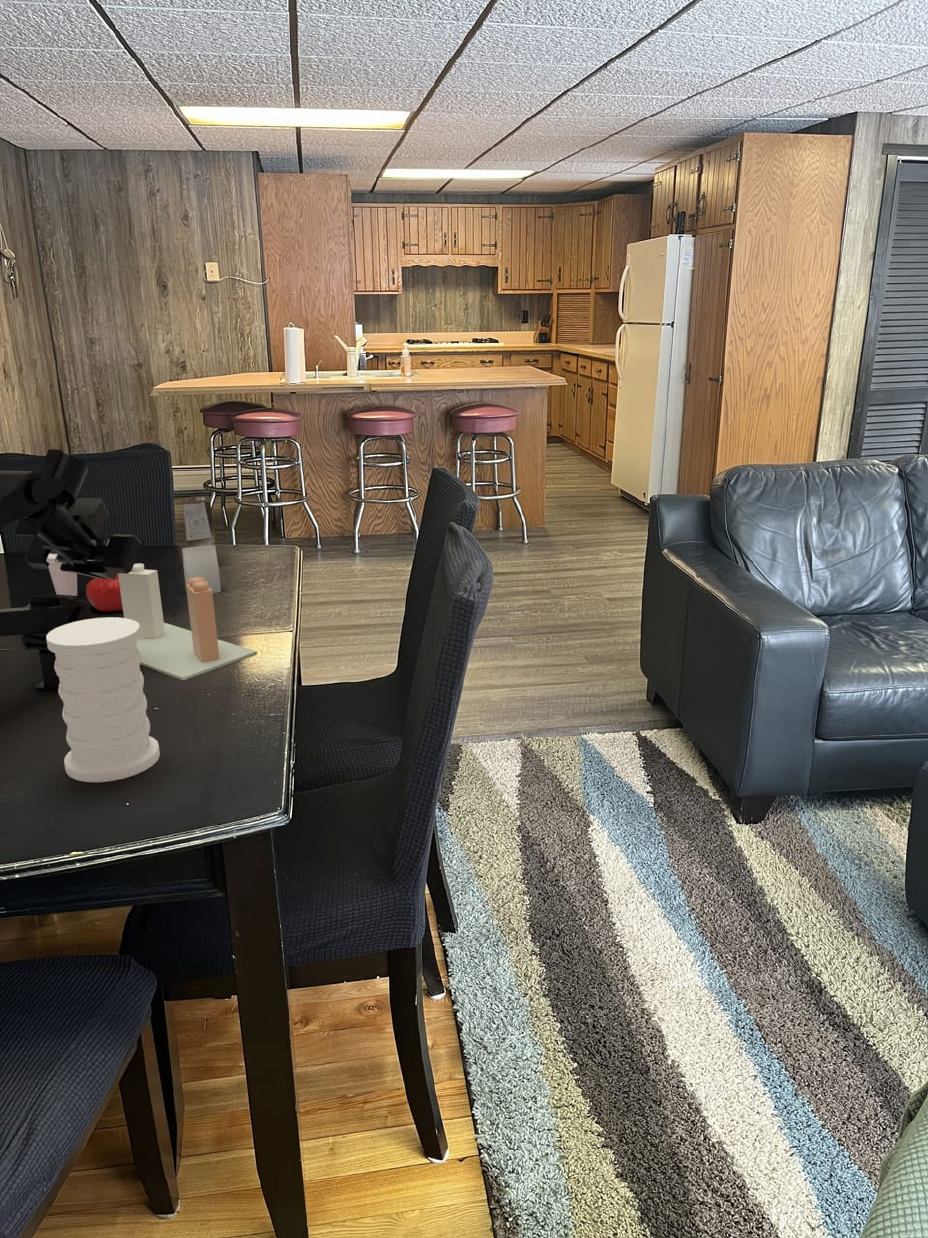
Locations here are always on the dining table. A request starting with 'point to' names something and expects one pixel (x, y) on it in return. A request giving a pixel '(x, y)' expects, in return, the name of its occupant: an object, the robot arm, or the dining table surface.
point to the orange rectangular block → (202, 619)
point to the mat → (184, 654)
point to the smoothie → (62, 578)
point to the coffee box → (198, 521)
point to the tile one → (142, 600)
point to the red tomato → (105, 594)
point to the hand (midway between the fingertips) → (110, 576)
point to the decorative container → (103, 699)
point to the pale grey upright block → (202, 565)
